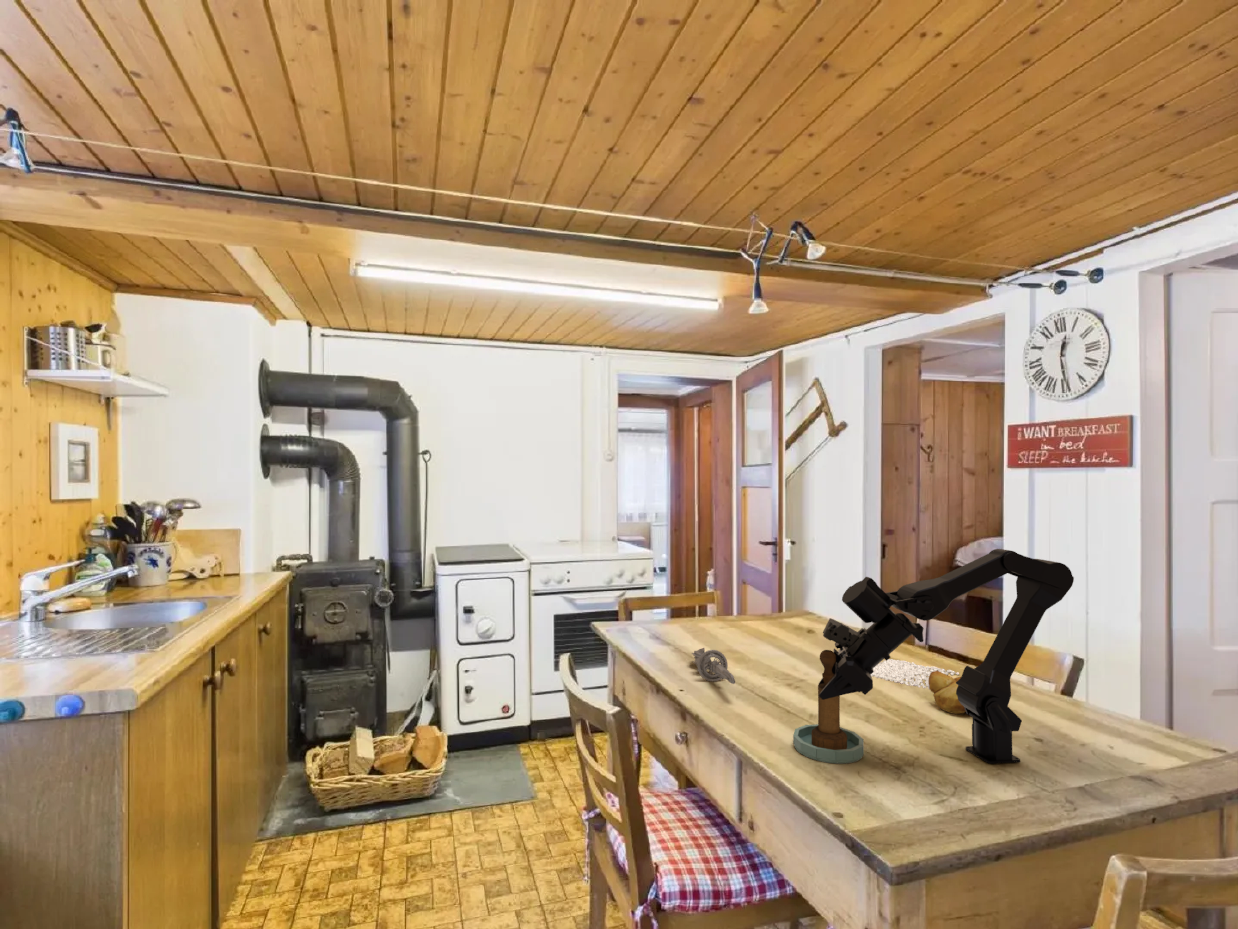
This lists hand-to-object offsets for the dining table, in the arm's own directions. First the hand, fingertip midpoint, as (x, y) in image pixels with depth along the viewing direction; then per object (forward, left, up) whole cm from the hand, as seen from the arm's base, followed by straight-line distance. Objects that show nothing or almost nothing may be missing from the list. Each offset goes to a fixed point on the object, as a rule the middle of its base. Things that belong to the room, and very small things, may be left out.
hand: (820, 692), depth 119 cm
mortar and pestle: (0, -1, -10) cm, 10 cm away
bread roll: (+15, -41, -11) cm, 45 cm away
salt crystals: (+40, -45, -11) cm, 62 cm away
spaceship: (+42, +9, -11) cm, 44 cm away
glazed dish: (-1, -1, -11) cm, 11 cm away
